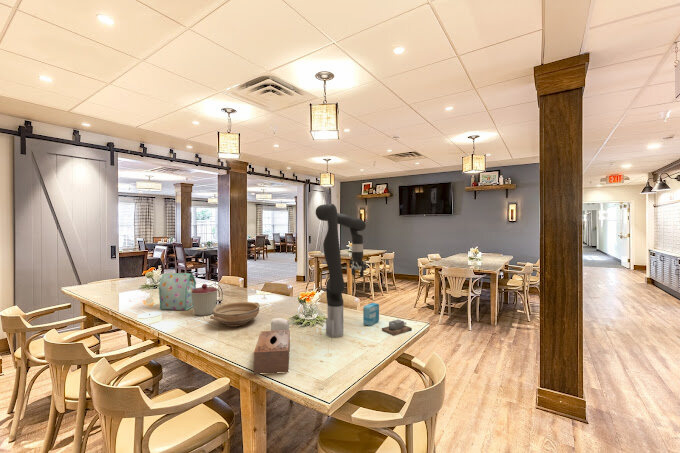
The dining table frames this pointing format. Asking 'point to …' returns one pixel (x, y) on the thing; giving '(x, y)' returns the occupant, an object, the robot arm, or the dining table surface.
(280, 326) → the photo printer
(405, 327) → the walnut board
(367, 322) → the data package
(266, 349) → the tissue box cover
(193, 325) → the dining table surface
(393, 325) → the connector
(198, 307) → the canister
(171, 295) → the lunch bag
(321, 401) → the dining table surface
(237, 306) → the ceramic bowl
